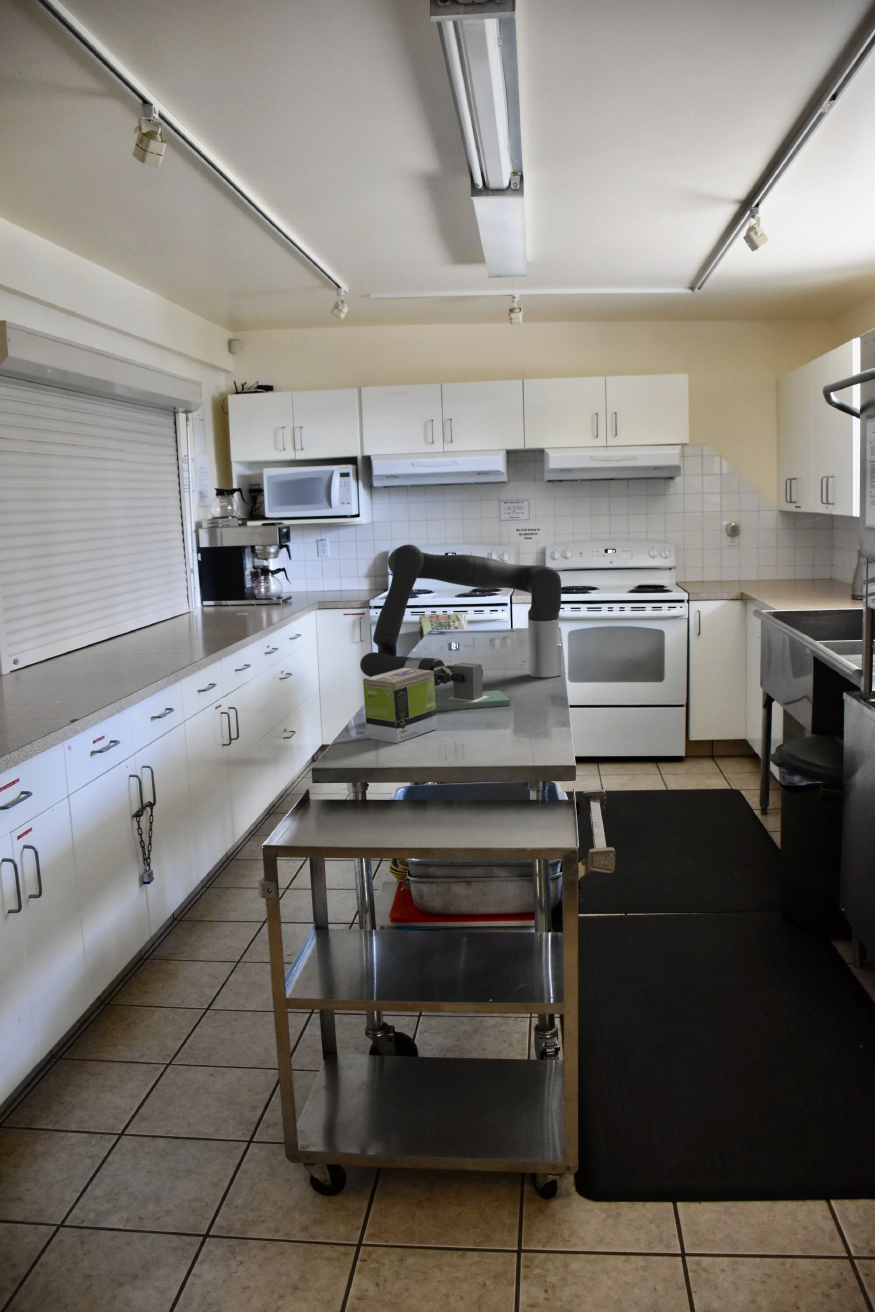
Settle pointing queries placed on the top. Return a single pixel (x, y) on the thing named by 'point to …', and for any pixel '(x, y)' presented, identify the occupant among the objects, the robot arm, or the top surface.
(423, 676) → the tea box
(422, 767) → the top surface
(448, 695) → the board
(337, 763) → the top surface
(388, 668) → the robot arm
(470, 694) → the dark grey rectangular block
